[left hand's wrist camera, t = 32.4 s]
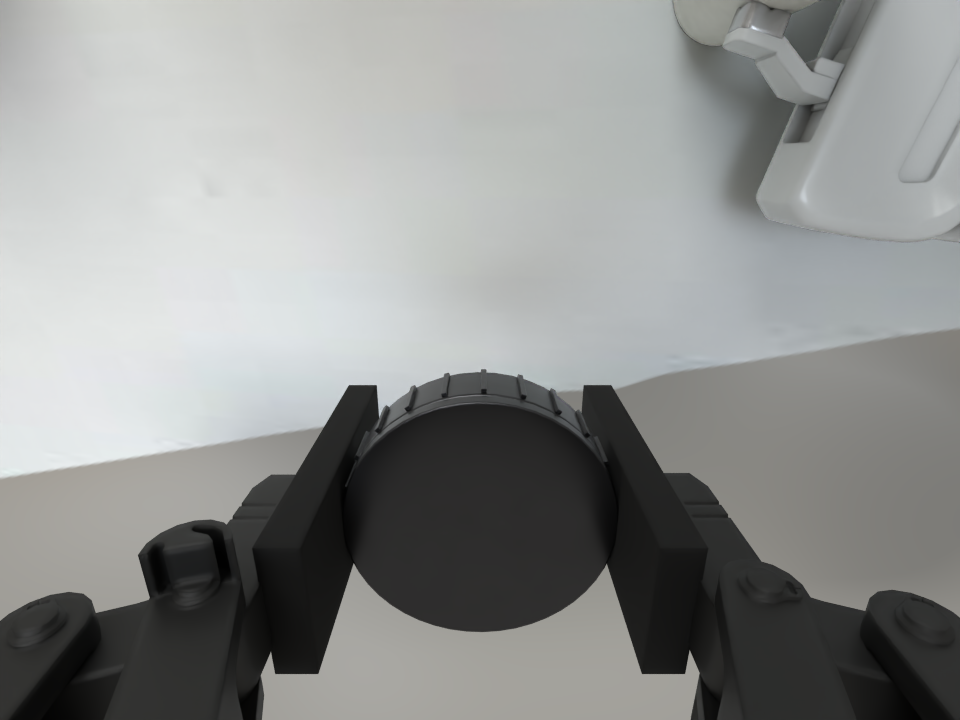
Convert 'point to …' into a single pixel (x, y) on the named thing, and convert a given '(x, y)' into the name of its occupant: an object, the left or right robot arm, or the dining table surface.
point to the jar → (721, 16)
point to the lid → (480, 503)
